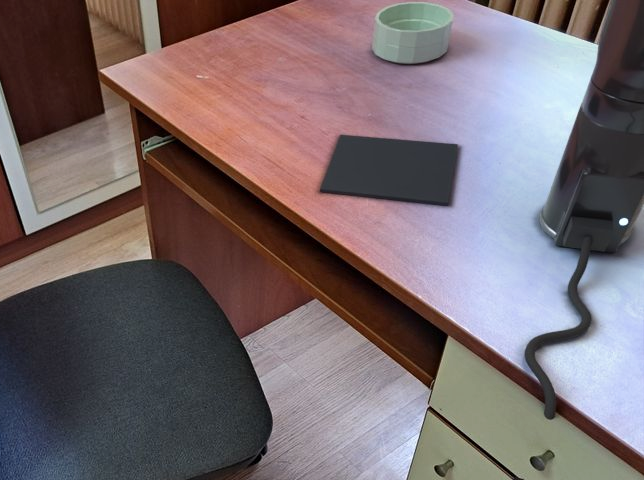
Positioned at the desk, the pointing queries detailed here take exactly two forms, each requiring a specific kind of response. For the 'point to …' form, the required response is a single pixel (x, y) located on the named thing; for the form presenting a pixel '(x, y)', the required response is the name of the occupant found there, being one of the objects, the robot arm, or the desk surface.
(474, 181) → the desk surface
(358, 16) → the desk surface
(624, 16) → the robot arm
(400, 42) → the bowl
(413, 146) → the mat
